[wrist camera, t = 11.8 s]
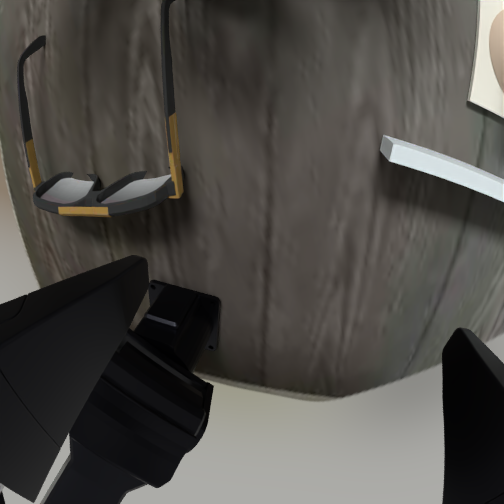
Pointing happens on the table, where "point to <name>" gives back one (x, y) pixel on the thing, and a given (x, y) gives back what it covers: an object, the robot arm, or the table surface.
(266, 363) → the table surface
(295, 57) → the table surface
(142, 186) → the sunglasses
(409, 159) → the low wall
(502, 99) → the pad
